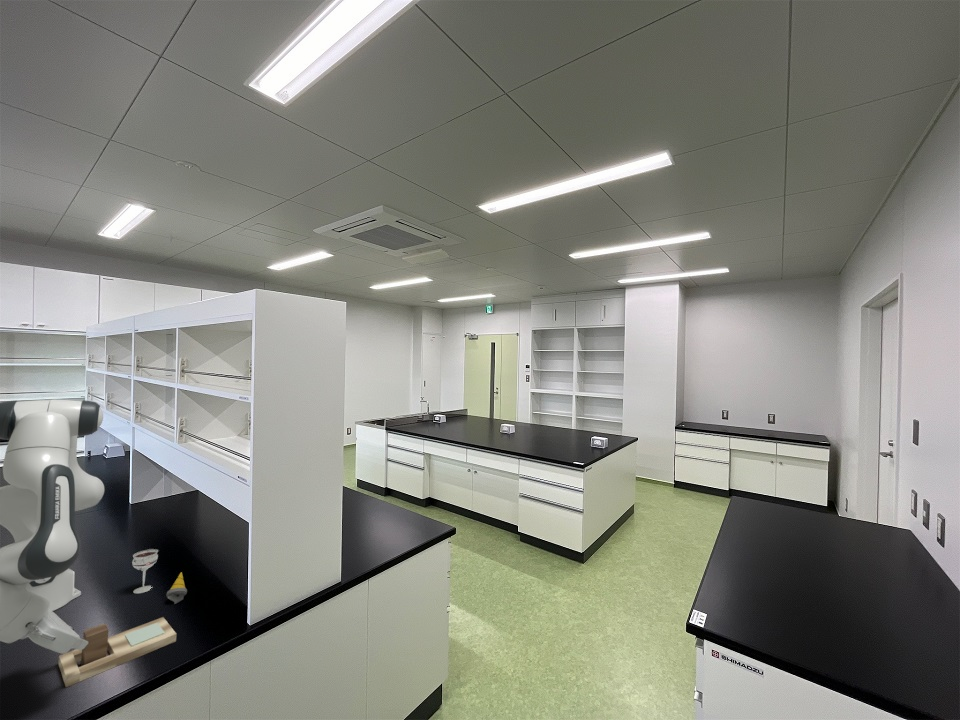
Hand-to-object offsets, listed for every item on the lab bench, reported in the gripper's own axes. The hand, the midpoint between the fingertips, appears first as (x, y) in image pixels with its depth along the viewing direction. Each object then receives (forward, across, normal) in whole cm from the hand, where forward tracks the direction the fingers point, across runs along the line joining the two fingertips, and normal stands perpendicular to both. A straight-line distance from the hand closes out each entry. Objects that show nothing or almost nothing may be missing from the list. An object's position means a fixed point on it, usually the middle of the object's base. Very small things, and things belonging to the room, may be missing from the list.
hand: (77, 638), depth 96 cm
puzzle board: (+11, -1, 0) cm, 11 cm away
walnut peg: (+8, 0, +3) cm, 8 cm away
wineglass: (+23, +31, -12) cm, 41 cm away
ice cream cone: (+25, +16, -14) cm, 33 cm away
